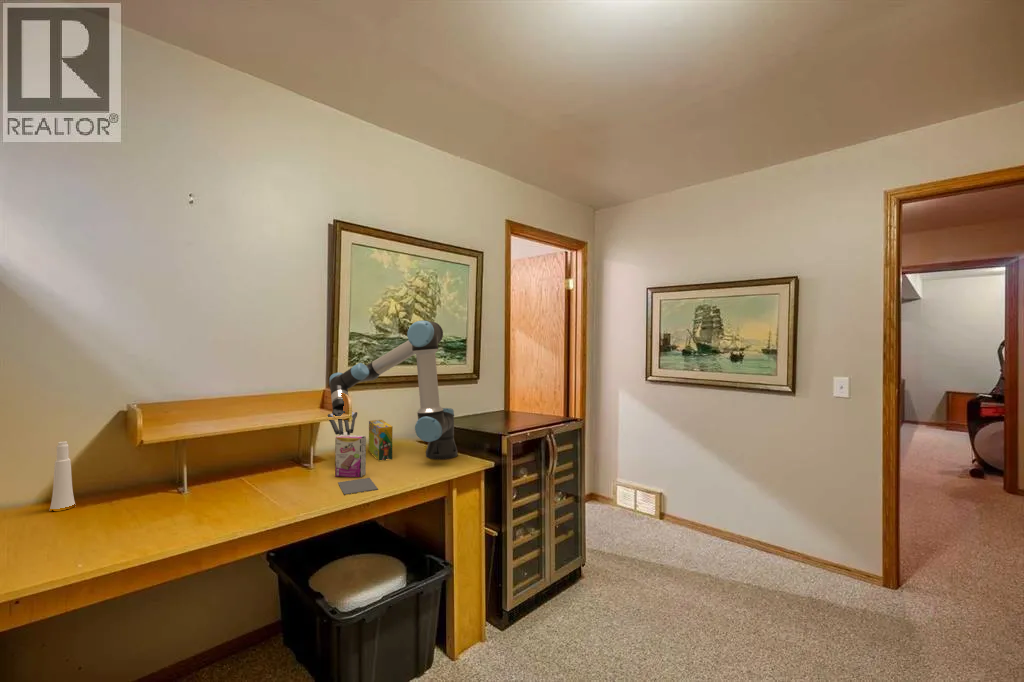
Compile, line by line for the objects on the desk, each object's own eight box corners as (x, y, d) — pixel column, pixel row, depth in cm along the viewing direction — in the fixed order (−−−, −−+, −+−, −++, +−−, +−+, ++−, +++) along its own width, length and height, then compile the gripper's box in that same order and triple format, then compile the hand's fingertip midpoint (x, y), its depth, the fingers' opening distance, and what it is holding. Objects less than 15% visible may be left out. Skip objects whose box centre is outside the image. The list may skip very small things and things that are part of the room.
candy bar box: (334, 477, 181) (334, 437, 181) (340, 473, 186) (340, 434, 186) (360, 478, 180) (361, 437, 180) (366, 474, 185) (366, 435, 185)
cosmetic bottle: (78, 507, 148) (78, 441, 148) (53, 513, 143) (52, 445, 142) (71, 503, 151) (71, 439, 151) (46, 509, 146) (46, 442, 146)
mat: (369, 478, 179) (369, 477, 179) (378, 489, 166) (378, 488, 166) (337, 483, 173) (337, 482, 173) (344, 495, 160) (344, 494, 160)
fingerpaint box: (393, 459, 208) (393, 425, 208) (378, 461, 205) (378, 427, 204) (382, 450, 224) (382, 419, 224) (368, 452, 221) (368, 420, 221)
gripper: (354, 406, 209) (361, 449, 195) (324, 408, 203) (329, 453, 188) (356, 396, 205) (363, 439, 190) (326, 398, 198) (331, 443, 184)
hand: (346, 446), depth 189 cm, fingers closed
